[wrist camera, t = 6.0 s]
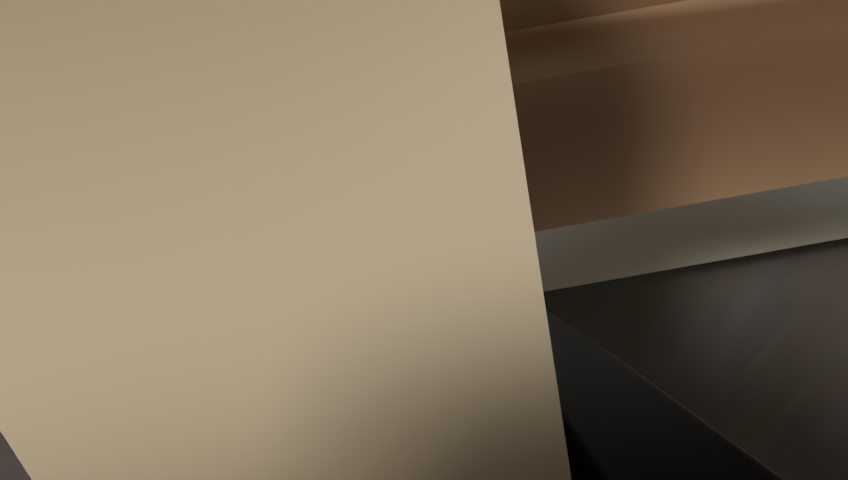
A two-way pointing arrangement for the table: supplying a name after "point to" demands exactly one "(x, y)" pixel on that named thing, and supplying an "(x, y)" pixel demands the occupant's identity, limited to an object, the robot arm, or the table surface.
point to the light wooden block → (268, 244)
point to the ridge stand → (678, 130)
